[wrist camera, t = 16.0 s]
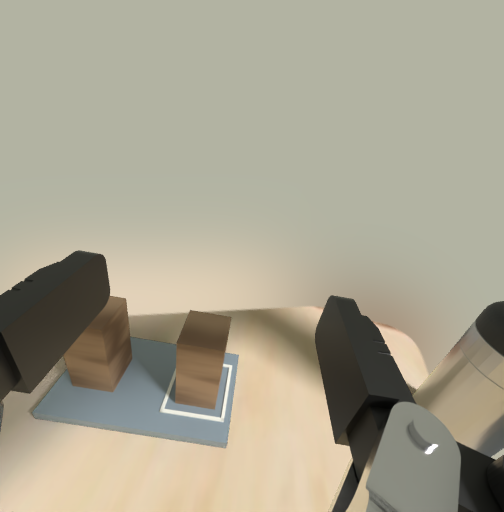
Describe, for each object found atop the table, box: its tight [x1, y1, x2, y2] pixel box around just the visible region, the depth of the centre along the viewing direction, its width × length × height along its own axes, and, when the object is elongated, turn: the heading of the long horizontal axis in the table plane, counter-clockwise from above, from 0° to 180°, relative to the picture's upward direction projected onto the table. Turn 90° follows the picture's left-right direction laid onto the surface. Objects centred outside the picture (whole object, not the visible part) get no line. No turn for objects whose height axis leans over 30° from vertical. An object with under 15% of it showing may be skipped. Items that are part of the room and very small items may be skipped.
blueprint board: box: [32, 337, 239, 448], centre depth 34 cm, size 12×22×1 cm, turn 86°
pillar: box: [175, 310, 231, 410], centre depth 31 cm, size 5×5×11 cm
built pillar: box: [63, 296, 132, 392], centre depth 30 cm, size 5×5×11 cm
